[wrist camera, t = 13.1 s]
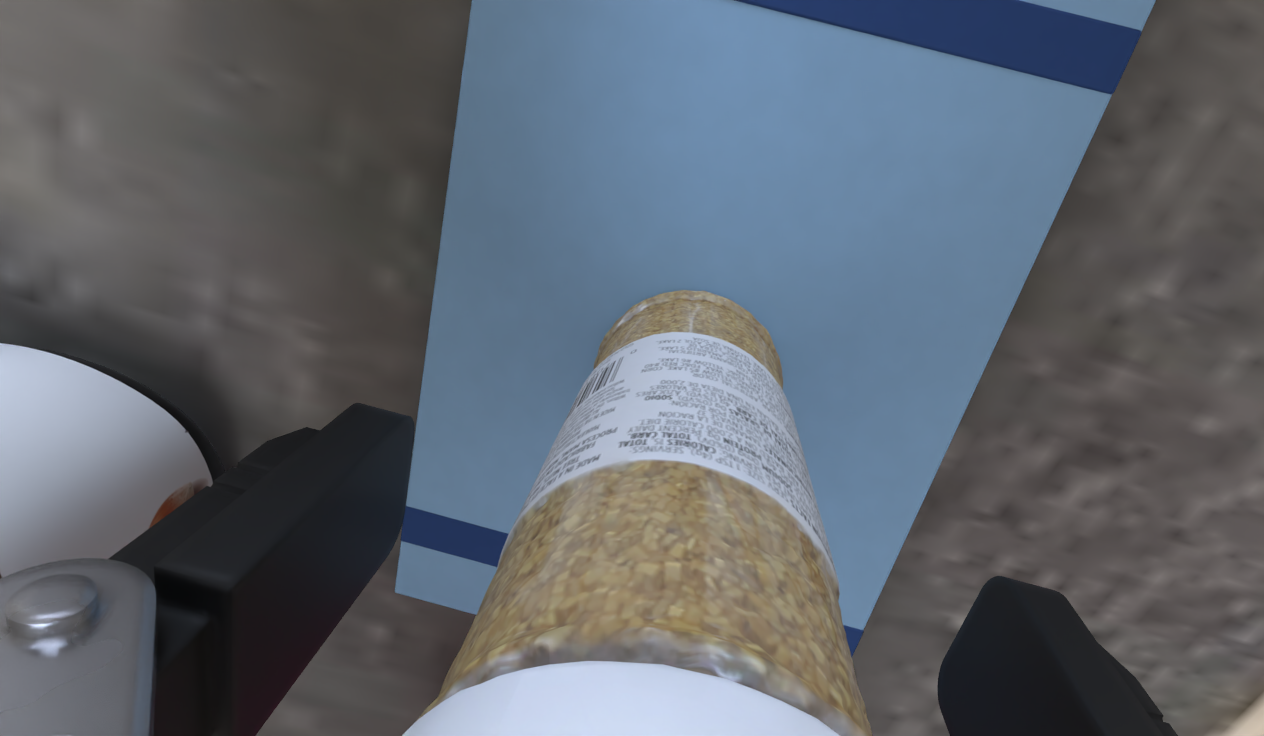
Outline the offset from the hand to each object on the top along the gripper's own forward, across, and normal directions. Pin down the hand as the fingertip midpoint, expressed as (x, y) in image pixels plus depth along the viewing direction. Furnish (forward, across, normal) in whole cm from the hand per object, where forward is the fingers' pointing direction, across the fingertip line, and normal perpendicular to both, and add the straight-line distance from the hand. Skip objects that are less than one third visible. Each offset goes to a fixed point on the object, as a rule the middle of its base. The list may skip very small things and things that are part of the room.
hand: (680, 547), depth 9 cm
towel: (+8, 0, -1) cm, 8 cm away
